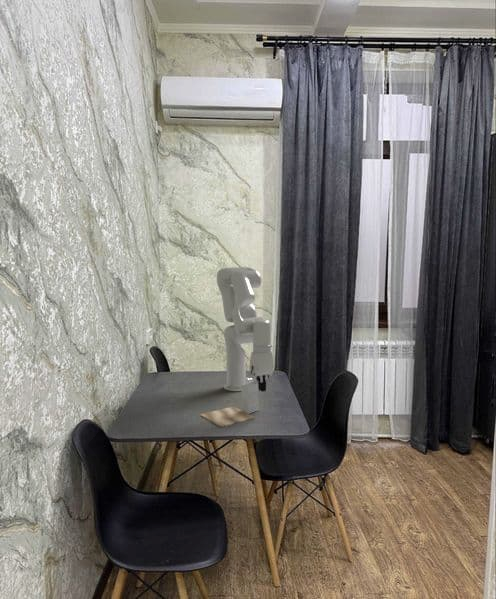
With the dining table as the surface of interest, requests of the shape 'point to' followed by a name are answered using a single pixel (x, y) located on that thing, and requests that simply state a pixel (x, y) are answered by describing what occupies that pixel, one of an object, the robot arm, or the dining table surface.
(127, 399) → the dining table surface
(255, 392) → the skincare box
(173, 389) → the dining table surface
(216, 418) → the wooden board
